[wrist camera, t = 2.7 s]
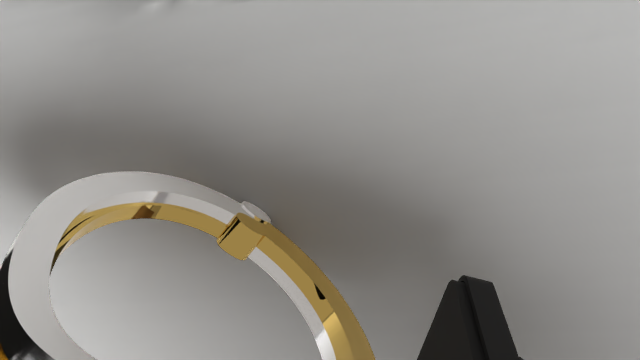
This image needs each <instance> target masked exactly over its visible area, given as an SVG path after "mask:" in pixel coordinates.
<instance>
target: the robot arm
mask: <svg viewBox="0 0 640 360" xmlns="http://www.w3.org/2000/svg"><path fill="white" fill-rule="evenodd" d="M417 360H523V359H522V358H521V357H518V354H517V351H516V348H515V345H514V342H513V340H512V337H511V334H510V331H509V328H508V325H507V322H506V319H505V317H504V314H503V311H502V308H501V305H500V302H499V299H498V296H497V294H496V291H495V288H494V285H493V283H492V282H489V281H485V280H481V279H477V278H473V277H469V276H465V275H463V276H461V278H460V279H459V281H455V280H451V281H450V282H449V284H448V286H447V288H446V290H445V293H444V295H443V298H442V300H441V302H440V305H439V307H438V310H437V312H436V315H435V317H434V320H433V322H432V324H431V327H430V329H429V332H428V334H427V337H426V339H425V342H424V344H423V346H422V349H421V351H420V354H419V356H418V359H417Z"/></svg>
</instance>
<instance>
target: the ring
mask: <svg viewBox="0 0 640 360" xmlns="http://www.w3.org/2000/svg"><path fill="white" fill-rule="evenodd" d="M140 218H151V219H162V220H168V221H173V222H178V223H182V224H185V225H188V226H191V227H194V228H197V229H199V230H202V231H204V232H206V233H208V234H210V235H212V236H214V237H216V238H217V243H218V245H219V246H220V247H221V248H222V249H223V250H224V251H226V252H227V253H228V254H230V255H231V256H233V257H235V258H237V259H239V260H246V259H247V257H248V258H250V259H251V260H252V261H253V262H255V263H256V264H257V265H258V266H260V267H261V268H262V269H263V270H264V271H265V272H266V273H267V274H268V275H270V276H271V277H272V278H273V279H274V280H275V281H276V282H277V283H278V285H279V286H280V287H281V288H282V289H283V290H284V291H285V292H286V294H287V295H288V296H289V297H290V299H291V300H292V301H293V302H294V304H295V305H296V307H297V308H298V310H299V311H300V313H301V314H302V316H303V317H304V319H305V321H306V322H307V324H308V326H309V328H310V330H311V332H312V334H313V336H314V338H315V341H316V343H317V346H318V348H319V351H320V354H321V358H322V360H375V357H374V354H373V351H372V349H371V347H370V344H369V342H368V340H367V338H366V336H365V334H364V332H363V330H362V328H361V326H360V324H359V322H358V321H357V319H356V317H355V315H354V314H353V312H352V311H351V309H350V307H349V306H348V304H347V303H346V301H345V300H344V298H343V297H342V296H341V294H340V293H339V292H338V290H337V289H336V288H335V286H334V285H333V284H332V283H331V281H330V280H329V279H328V278H327V276H326V275H325V274H324V273H323V272H322V271H321V270H320V268H319V267H318V266H317V265H316V264H315V263H314V262H313V261H312V260H311V259H310V258H309V257H308V256H307V255H306V254H305V253H304V252H303V251H302V250H301V249H300V248H299V247H298V246H297V245H295V244H294V243H293V242H292V241H291V240H290V239H289V238H287V237H286V236H285V235H284V234H283V233H281V232H280V231H279V230H278V229H277V228H275V227H274V226H273V225H271V224H270V222H271V219H270V218H269V216H268V215H267V214H266V213H265V212H263V211H262V210H261V209H260V208H258V207H257V206H255V205H253V204H251V203H249V202H247V201H243V202H242V203H239V202H237V201H235V200H234V199H232V198H230V197H228V196H226V195H224V194H222V193H220V192H218V191H215V190H213V189H211V188H208V187H206V186H203V185H201V184H198V183H195V182H192V181H189V180H186V179H182V178H179V177H175V176H170V175H165V174H159V173H152V172H140V171H121V172H109V173H102V174H97V175H92V176H88V177H85V178H82V179H79V180H76V181H73V182H71V183H69V184H67V185H65V186H63V187H61V188H59V189H58V190H56V191H54V192H53V193H52V194H50V195H49V196H48V197H46V198H45V199H44V200H43V201H42V202H41V203H40V204H39V205H38V206H37V207H36V208H35V210H34V211H33V212H32V213H31V215H30V216H29V218H28V219H27V221H26V222H25V224H24V225H23V227H22V229H21V230H20V232H19V233H18V235H17V237H16V238H15V240H14V241H13V243H12V245H11V247H10V248H9V250H8V252H7V254H6V257H5V259H4V261H3V263H2V265H1V267H0V360H97V359H95V358H94V357H92V356H91V355H90V354H88V353H87V352H86V351H84V350H83V349H82V348H81V347H79V346H78V345H77V344H76V343H75V342H74V341H73V340H72V339H71V338H70V337H69V336H68V334H67V333H66V332H65V331H64V329H63V328H62V326H61V325H60V323H59V321H58V319H57V317H56V315H55V313H54V310H53V307H52V303H51V299H50V290H49V280H50V274H51V271H52V269H53V266H54V264H55V262H56V260H57V258H58V257H59V256H60V255H61V254H62V253H63V252H64V251H65V250H66V249H67V248H68V247H69V246H70V245H71V244H73V243H74V242H75V241H76V240H78V239H79V238H81V237H82V236H84V235H85V234H87V233H89V232H91V231H93V230H95V229H97V228H99V227H102V226H104V225H107V224H110V223H114V222H118V221H123V220H129V219H140Z"/></svg>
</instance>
